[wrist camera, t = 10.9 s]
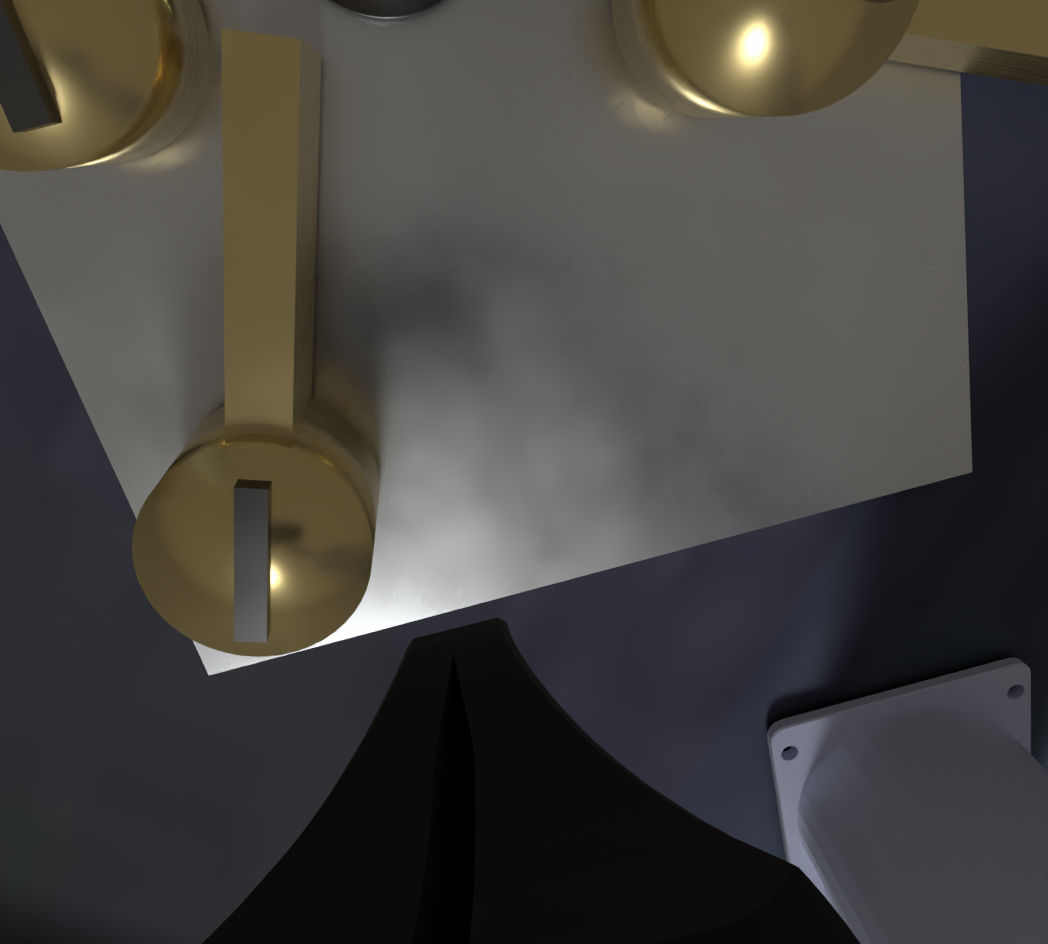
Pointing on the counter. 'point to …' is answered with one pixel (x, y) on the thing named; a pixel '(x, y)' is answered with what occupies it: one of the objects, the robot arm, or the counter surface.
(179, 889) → the counter surface
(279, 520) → the knob
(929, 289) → the levelling plate
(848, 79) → the knob
